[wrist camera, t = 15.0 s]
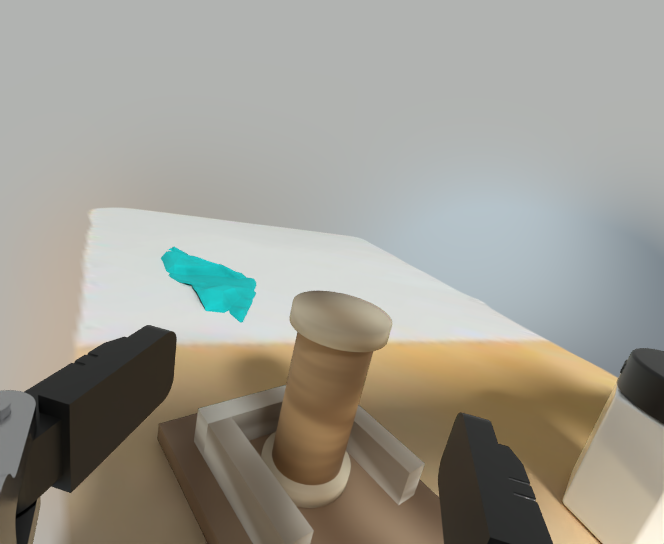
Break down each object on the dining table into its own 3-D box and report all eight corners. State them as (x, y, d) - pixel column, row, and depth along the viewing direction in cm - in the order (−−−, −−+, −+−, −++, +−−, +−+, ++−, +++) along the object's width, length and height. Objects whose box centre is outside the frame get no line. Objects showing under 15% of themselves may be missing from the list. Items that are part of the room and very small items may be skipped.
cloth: (286, 328, 47) (290, 311, 46) (162, 331, 40) (164, 311, 40) (235, 257, 68) (237, 244, 68) (149, 251, 62) (150, 237, 61)
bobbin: (313, 428, 29) (347, 288, 26) (365, 485, 25) (412, 327, 22) (243, 453, 25) (273, 293, 22) (290, 524, 21) (336, 340, 18)
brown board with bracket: (311, 392, 35) (319, 355, 34) (514, 590, 21) (539, 541, 20) (157, 438, 26) (162, 391, 25) (339, 816, 13) (365, 751, 12)
